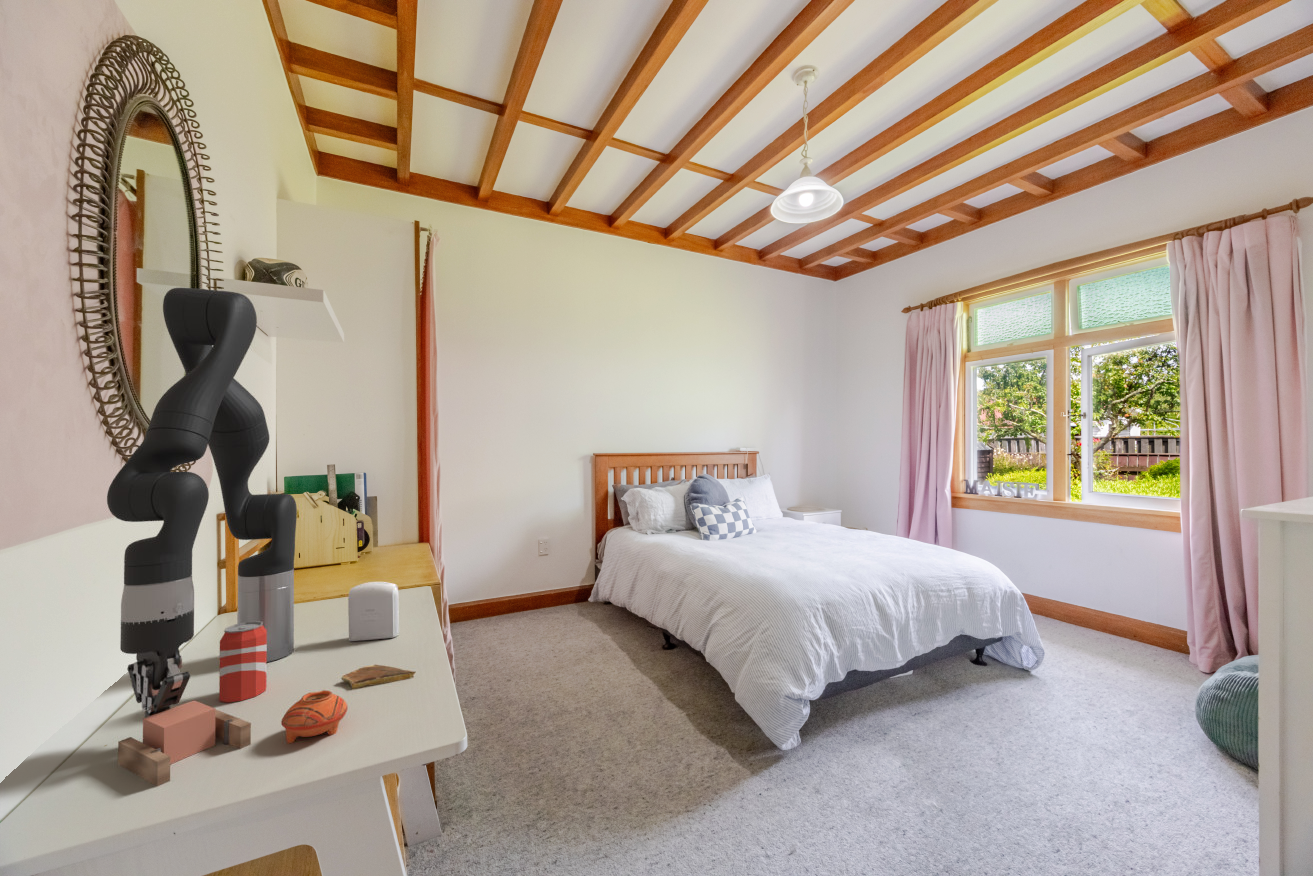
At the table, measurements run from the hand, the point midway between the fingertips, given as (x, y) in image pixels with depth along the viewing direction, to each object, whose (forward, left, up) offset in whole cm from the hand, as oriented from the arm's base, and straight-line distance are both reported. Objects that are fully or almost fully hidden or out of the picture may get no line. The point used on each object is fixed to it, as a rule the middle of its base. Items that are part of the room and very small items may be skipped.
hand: (157, 734), depth 72 cm
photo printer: (-12, +41, -2) cm, 43 cm away
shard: (+8, +28, -2) cm, 30 cm away
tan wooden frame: (+9, 0, -2) cm, 9 cm away
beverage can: (-6, +13, -2) cm, 15 cm away
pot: (+18, +11, -2) cm, 21 cm away
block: (+6, 0, -1) cm, 6 cm away
